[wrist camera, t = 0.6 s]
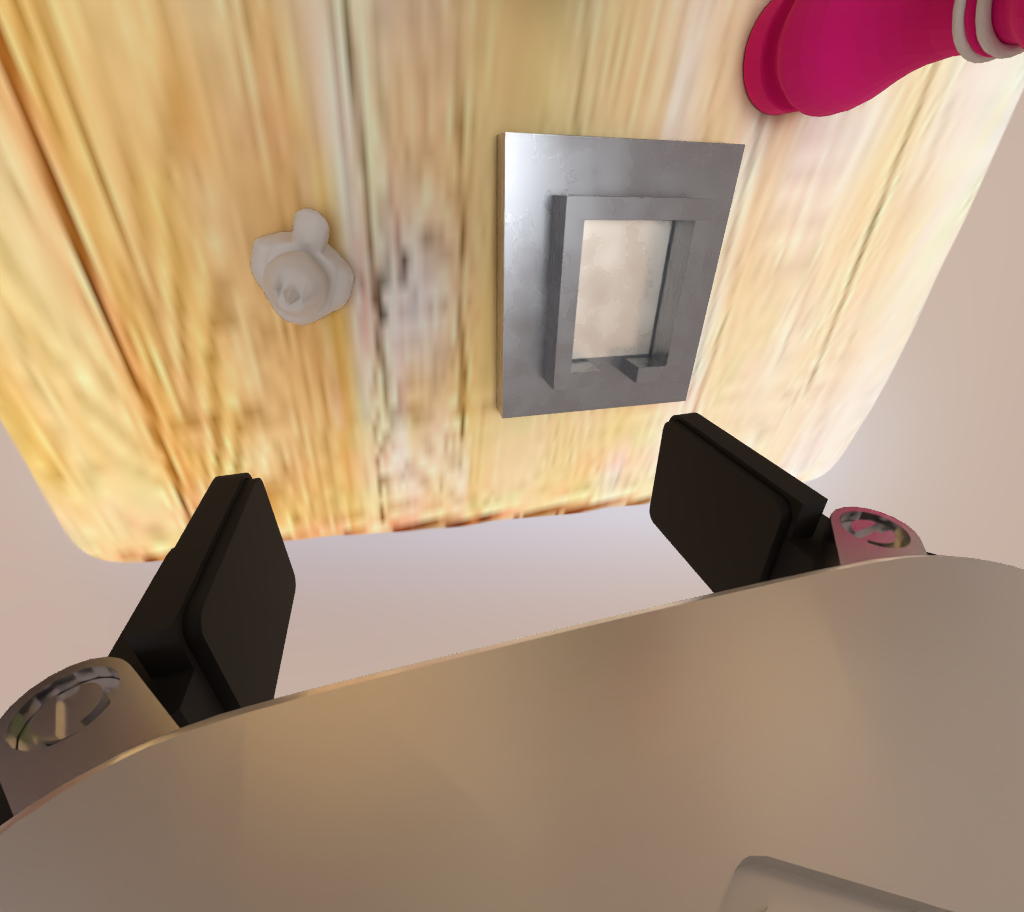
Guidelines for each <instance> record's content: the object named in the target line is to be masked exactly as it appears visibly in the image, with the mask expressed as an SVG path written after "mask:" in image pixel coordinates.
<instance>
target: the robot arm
mask: <svg viewBox="0 0 1024 912" xmlns="http://www.w3.org/2000/svg"><path fill="white" fill-rule="evenodd" d="M827 500H828V499H827V498H825V497H824V496H822V495H820V494H819V493H818V492H816V491H815V490H813V489H811V488H810V487H809V486H807V485H805V484H804V483H802V482H801V481H799V480H798V479H796V478H795V477H793V476H792V475H790V474H789V473H787V472H786V471H784V470H783V469H781V468H780V467H778V466H777V465H775V464H774V463H772V462H771V461H769V460H768V459H766V458H765V457H763V456H762V455H760V454H759V453H757V452H756V451H754V450H753V449H751V448H750V447H748V446H747V445H745V444H744V443H742V442H741V441H739V440H737V439H736V438H734V437H733V436H731V435H730V434H728V433H727V432H725V431H724V430H722V429H721V428H719V427H718V426H716V425H715V424H713V423H712V422H710V421H709V420H707V419H706V418H704V417H703V416H701V415H700V414H698V413H688V414H681V415H674V416H672V417H671V418H670V420H669V422H667V423H665V425H664V428H663V433H662V439H661V445H660V451H659V456H658V462H657V468H656V474H655V480H654V486H653V492H652V498H651V503H650V516H651V519H652V521H653V523H654V524H655V525H656V526H657V527H658V529H659V530H660V531H661V532H662V533H663V534H664V536H665V537H666V538H667V539H668V540H669V541H670V542H671V544H672V545H673V546H674V547H675V548H676V549H677V551H678V552H679V553H680V554H681V555H682V556H683V558H685V560H686V561H687V562H688V563H689V565H690V566H691V567H692V568H693V569H694V570H695V572H697V574H698V575H699V576H700V577H701V578H702V580H703V581H704V582H705V583H706V584H707V585H708V587H709V588H710V589H711V590H712V591H713V592H714V593H712V594H708V595H704V596H699V597H695V598H691V599H686V600H682V601H678V602H673V603H669V604H664V605H660V606H655V607H652V608H647V609H643V610H639V611H634V612H630V613H625V614H621V615H617V616H613V617H608V618H604V619H600V620H595V621H592V622H587V623H583V624H579V625H574V626H570V627H566V628H562V629H557V630H553V631H549V632H544V633H541V634H536V635H532V636H527V637H523V638H519V639H515V640H511V641H506V642H502V643H499V644H495V645H490V646H486V647H482V648H477V649H473V650H469V651H465V652H461V653H456V654H452V655H448V656H444V657H440V658H436V659H432V660H427V661H423V662H419V663H415V664H411V665H407V666H402V667H398V668H394V669H390V670H386V671H382V672H377V673H374V674H369V675H365V676H361V677H357V678H354V679H349V680H346V681H342V682H338V683H333V684H329V685H325V686H321V687H318V688H313V689H309V690H305V691H302V692H298V693H294V694H291V695H287V696H283V697H280V698H276V699H274V694H275V689H276V684H277V679H278V674H279V669H280V664H281V659H282V654H283V649H284V644H285V639H286V634H287V629H288V624H289V619H290V614H291V609H292V604H293V600H294V594H295V587H296V583H295V575H294V572H293V569H292V566H291V563H290V560H289V557H288V554H287V551H286V548H285V546H284V542H283V540H282V537H281V534H280V531H279V528H278V525H277V522H276V519H275V516H274V513H273V510H272V507H271V504H270V501H269V499H268V496H267V493H266V490H265V487H264V484H263V482H262V480H261V479H260V478H254V479H252V477H251V475H250V474H249V473H240V474H233V475H225V476H218V477H215V478H214V479H213V481H212V483H211V485H210V486H209V488H208V490H207V492H206V493H205V495H204V497H203V499H202V500H201V502H200V504H199V506H198V507H197V509H196V511H195V513H194V514H193V516H192V518H191V520H190V521H189V523H188V525H187V527H186V528H185V530H184V532H183V534H182V535H181V537H180V539H179V541H178V542H177V544H176V546H175V548H173V549H171V550H170V552H169V553H168V554H167V556H166V557H165V559H164V561H163V563H162V564H161V566H160V568H159V569H158V571H157V573H156V575H155V576H154V578H153V580H152V581H151V583H150V585H149V587H148V589H147V590H146V592H145V594H144V595H143V597H142V599H141V601H140V602H139V604H138V606H137V607H136V609H135V611H134V613H133V614H132V616H131V618H130V620H129V621H128V623H127V625H126V626H125V628H124V630H123V631H122V633H121V635H120V637H119V638H118V640H117V642H116V643H115V645H114V647H113V649H112V650H111V652H110V654H109V656H108V657H102V658H95V659H89V660H86V661H83V662H80V663H77V664H74V665H72V666H69V667H67V668H65V669H63V670H61V671H59V672H57V673H55V674H53V675H51V676H49V677H48V678H46V679H44V680H43V681H42V682H40V683H39V684H37V685H36V686H34V687H33V688H31V689H30V690H28V691H27V692H26V693H25V694H24V695H23V696H21V697H20V698H19V699H18V700H17V701H16V702H15V703H14V704H13V705H12V706H10V707H9V709H8V710H7V711H6V712H5V713H4V715H3V716H2V717H1V718H0V912H1024V570H1023V569H1020V568H1017V567H1014V566H1010V565H1006V564H1002V563H997V562H991V561H986V560H980V559H974V558H965V557H954V556H944V555H936V554H932V553H928V552H926V550H925V548H924V546H923V544H922V541H921V539H920V538H919V537H918V535H917V534H916V532H915V531H914V530H912V529H911V528H910V527H909V526H907V525H906V524H904V523H903V522H901V521H899V520H897V519H896V518H894V517H891V516H889V515H886V514H884V513H882V512H878V511H875V510H871V509H866V508H859V507H843V508H840V509H836V510H835V511H834V512H833V513H832V514H831V516H830V518H828V517H826V516H825V515H823V514H822V512H823V510H824V508H825V505H826V503H827Z"/></svg>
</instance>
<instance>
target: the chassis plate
mask: <svg viewBox="0 0 1024 912" xmlns="http://www.w3.org/2000/svg"><path fill="white" fill-rule="evenodd" d="M744 147H745V145H744V144H724V143H705V142H686V141H667V140H647V139H628V138H609V137H589V136H570V135H551V134H531V133H512V132H505V133H502V134H500V135H498V167H497V409H498V411H499V413H500V414H501V416H502V418H511V417H521V416H531V415H542V414H552V413H563V412H573V411H584V410H594V409H605V408H615V407H625V406H636V405H646V404H657V403H667V402H678V401H686V396H687V392H688V388H689V383H690V379H691V375H692V371H693V366H694V362H695V358H696V353H697V349H698V345H699V341H700V336H701V332H702V328H703V323H704V319H705V315H706V310H707V306H708V302H709V298H710V293H711V289H712V285H713V280H714V276H715V272H716V268H717V263H718V259H719V255H720V250H721V246H722V242H723V238H724V233H725V229H726V225H727V220H728V216H729V212H730V208H731V203H732V199H733V195H734V190H735V186H736V182H737V177H738V173H739V169H740V165H741V160H742V156H743V152H744Z"/></svg>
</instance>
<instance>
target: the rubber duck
mask: <svg viewBox="0 0 1024 912" xmlns="http://www.w3.org/2000/svg"><path fill="white" fill-rule="evenodd" d="M328 239H329V225H328V222H327V221H326V219H325V218H324V216H323V215H322V214H320V213H319V212H318V211H316V210H314V209H310V208H304V209H301V210H298V211H297V212H296V214H295V216H294V222H293V232H278V233H275V234H268V235H264V236H261V237H259V238H257V239H256V240H255V241H254V243H253V246H252V253H251V261H250V267H251V271H252V274H253V276H254V278H255V280H256V282H257V283H258V285H259V286H260V287H261V289H262V290H263V291H264V294H265V296H266V298H267V299H268V301H269V302H270V304H271V306H272V307H273V309H274V310H275V311H276V313H277V314H278V315H279V316H280V317H281V318H283V319H284V320H286V321H288V322H291V323H295V324H298V325H307V324H310V323H312V322H315V321H317V320H319V319H321V318H323V317H325V316H327V315H328V314H329V313H331V312H334V311H337V310H339V309H340V308H341V307H342V306H344V305H345V304H346V303H347V301H348V300H349V298H350V296H351V292H352V288H353V283H354V273H353V270H352V268H351V267H350V265H349V264H348V263H347V262H346V261H345V260H344V259H343V258H342V257H341V255H340V254H339V253H338V252H337V251H336V250H335V249H334V248H332V247H331V246H330V245H329V244H328Z"/></svg>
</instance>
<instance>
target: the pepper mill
mask: <svg viewBox="0 0 1024 912" xmlns="http://www.w3.org/2000/svg"><path fill="white" fill-rule="evenodd" d="M1022 52H1024V0H772V1H771V2H770V3H769V4H768V5H767V7H766V8H765V9H764V11H763V12H762V13H761V15H760V17H759V18H758V20H757V22H756V24H755V25H754V27H753V30H752V32H751V35H750V37H749V41H748V44H747V47H746V52H745V59H744V83H745V86H746V90H747V93H748V96H749V98H750V99H751V101H752V103H753V104H754V105H755V106H756V107H757V109H759V110H760V111H762V112H763V113H766V114H770V115H779V114H785V113H791V112H796V111H800V112H801V113H803V114H805V115H809V116H816V117H822V116H829V115H833V114H836V113H840V112H844V111H847V110H850V109H852V108H854V107H856V106H858V105H860V104H862V103H864V102H866V101H868V100H870V99H872V98H873V97H875V96H876V95H878V94H879V93H881V92H882V91H884V90H885V89H886V88H888V87H889V86H890V85H892V84H893V83H895V82H896V81H898V80H899V79H901V78H902V77H904V76H905V75H907V74H909V73H910V72H912V71H914V70H916V69H918V68H921V67H923V66H925V65H927V64H930V63H933V62H936V61H939V60H943V59H946V58H949V57H952V56H958V55H961V56H962V57H963V58H964V59H966V60H967V61H970V62H973V63H983V62H988V61H991V60H994V59H996V58H1001V59H1003V58H1009V57H1013V56H1015V55H1018V54H1020V53H1022Z"/></svg>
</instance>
